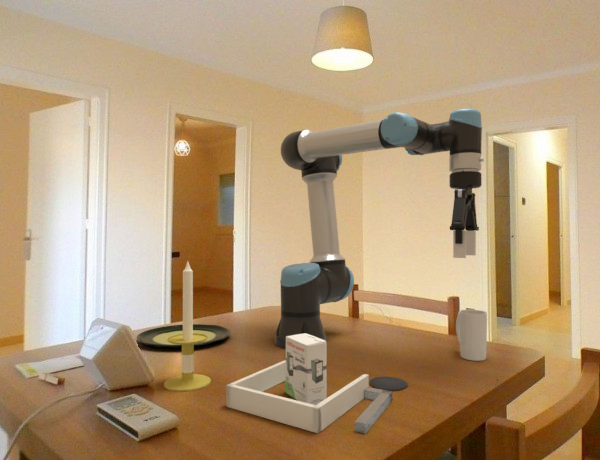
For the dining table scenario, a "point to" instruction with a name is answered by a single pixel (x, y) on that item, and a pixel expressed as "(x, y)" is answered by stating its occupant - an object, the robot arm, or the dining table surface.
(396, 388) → the dark grey disc
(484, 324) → the mug
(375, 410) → the crook tool
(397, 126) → the robot arm
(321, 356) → the ink box
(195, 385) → the candle
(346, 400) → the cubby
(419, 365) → the dining table surface
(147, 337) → the plate
